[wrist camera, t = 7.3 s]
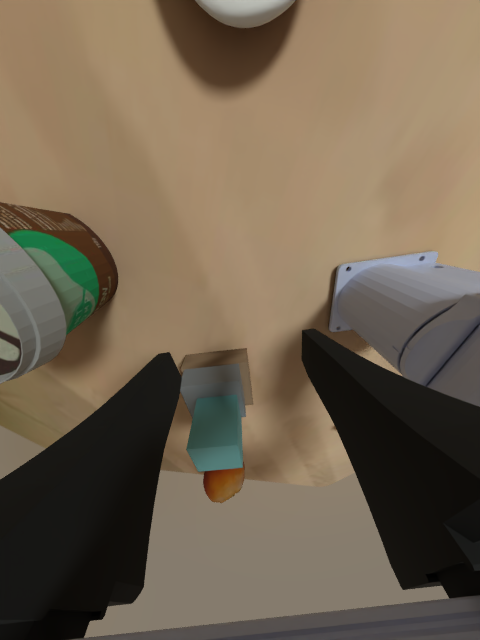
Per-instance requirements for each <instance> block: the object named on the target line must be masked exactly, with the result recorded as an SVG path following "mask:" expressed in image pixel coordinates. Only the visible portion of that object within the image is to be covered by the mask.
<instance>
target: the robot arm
mask: <svg viewBox="0 0 480 640" xmlns="http://www.w3.org/2000/svg"><path fill="white" fill-rule="evenodd" d="M420 257H421V259H420ZM437 257H438V253H437V252H435V251H429V252H422V253H415V254H408V255H401V256H395V257H388V258H381V259H374V260H367V261H360V262H353V263H346V264H341V265H339V266H338V268H337V271H336V278H335V285H334V293H333V300H332V307H331V315H330V322H329V330H330V331H331V332H339V331H347V330H354V331H355V332H356V333H357V334H358V335H359V336H361V337H362V338H363V339H364V340H365V341H366V342H367V343H368V344H369V345H370V346H371V347H373V348H374V349H375V350H376V351H377V352H378V353H379V354H380V355H381V356H382V357H383V358H384V359H386V360H387V361H388V362H389V363H390V364H391V365H392V366H393V367H394V368H395V369H396V370H397V371H399V372H400V373H401V374H402V376H400V375H398V374H395V373H393V372H391V371H389V370H387V369H385V368H382V367H380V366H378V365H376V364H374V363H373V362H371V361H369V360H367V359H365V358H363V357H361V356H359V355H357V354H356V353H354V352H352V351H350V350H349V349H347V348H345V347H343V346H342V345H340V344H338V343H337V342H335V341H334V340H332V339H330V338H329V337H327V336H325V335H324V334H322V333H321V332H319V331H317V330H315V329H308V330H302V362H303V364H304V367H305V369H306V372H307V374H308V377H309V378H310V380H311V382H312V384H313V386H314V388H315V390H316V391H317V393H318V395H319V397H320V399H321V400H322V402H323V404H324V406H325V408H326V409H327V411H328V413H329V415H330V417H331V419H332V421H333V423H334V425H335V427H336V429H337V431H338V433H339V436H340V438H341V440H342V443H343V445H344V447H345V449H346V452H347V454H348V457H349V459H350V461H351V464H352V466H353V468H354V471H355V473H356V475H357V478H358V481H359V483H360V486H361V488H362V491H363V493H364V495H365V498H366V501H367V503H368V506H369V508H370V511H371V513H372V516H373V519H374V521H375V524H376V527H377V529H378V532H379V534H380V537H381V540H382V542H383V545H384V548H385V551H386V553H387V556H388V559H389V562H390V564H391V567H392V569H393V571H394V573H395V575H396V577H397V579H398V582H399V583H400V586H401V587H402V589H403V590H406V589H415V588H423V587H432V586H443V588H444V590H445V591H446V593H447V595H448V596H449V598H450V599H441V600H431V601H422V602H413V603H404V604H395V605H385V606H376V607H367V608H357V609H348V610H340V611H331V612H321V613H311V614H302V615H293V616H283V617H274V618H266V619H256V620H247V621H238V622H228V623H219V624H209V625H200V626H191V627H182V628H173V629H163V630H154V631H146V632H135V633H126V634H117V635H108V636H99V637H89V638H84V636H85V633H86V630H87V627H88V625H89V622H90V621H93V620H102V619H103V617H104V616H105V613H106V610H107V607H108V606H114V605H123V604H131V603H133V602H134V601H135V600H136V598H137V597H138V595H139V594H140V593H141V591H142V589H143V587H144V579H145V570H146V561H147V553H148V544H149V536H150V529H151V522H152V515H153V508H154V502H155V495H156V490H157V484H158V478H159V473H160V468H161V463H162V458H163V452H164V448H165V444H166V440H167V437H168V434H169V430H170V427H171V423H172V420H173V416H174V413H175V410H176V406H177V402H178V399H179V394H180V389H181V381H182V377H181V375H180V373H179V371H178V369H177V367H176V365H175V363H174V360H173V358H172V356H171V354H170V352H167V353H161V354H158V355H157V356H156V357H154V358H153V359H152V360H151V361H150V362H149V363H148V364H147V365H146V366H145V367H144V368H143V369H142V370H141V371H140V372H139V373H137V374H136V375H135V376H134V377H133V378H132V379H131V380H130V381H129V382H128V383H127V384H126V385H125V386H124V387H123V388H122V389H120V390H119V391H118V392H117V393H116V394H115V395H114V396H113V397H111V398H110V399H109V400H108V401H107V402H106V403H105V404H104V405H102V406H101V407H100V408H99V409H98V410H96V411H95V412H94V413H93V414H92V415H90V416H89V417H88V418H87V419H85V420H84V421H83V422H82V423H80V424H79V425H78V426H76V427H75V428H74V429H73V430H71V431H70V432H68V433H67V434H66V435H64V436H63V437H62V438H60V439H59V440H57V441H56V442H55V443H53V444H52V445H51V446H49V447H48V448H46V449H45V450H44V451H42V452H41V453H39V454H38V455H37V456H35V457H34V458H32V459H31V460H29V461H28V462H26V463H25V464H24V465H22V466H20V467H19V468H17V469H16V470H14V471H13V472H11V473H10V474H8V475H7V476H5V477H4V478H2V479H1V480H0V640H480V272H477V271H472V270H468V269H463V268H458V267H453V266H449V265H444V264H439V263H435V262H436V259H437ZM419 259H420V260H419ZM347 267H349V269H348V270H347V271H346V268H347ZM337 327H338V328H337Z"/></svg>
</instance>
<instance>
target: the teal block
mask: <svg viewBox="0 0 480 640" xmlns="http://www.w3.org/2000/svg"><path fill="white" fill-rule="evenodd" d="M186 450H187V451H188V453H189V455H190V457H191V459H192V461H193V463H194V464H195V466H196V468H197V470H198V472H200V471H211V470H223V469H234V468H243V451H242V424H241V414H240V409H239V403H238V398H237V395H228V396H218V397H208V398H198V399H197V401H196V406H195V411H194V415H193V420H192V425H191V430H190V435H189V440H188V445H187V449H186Z"/></svg>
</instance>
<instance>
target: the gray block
mask: <svg viewBox="0 0 480 640" xmlns="http://www.w3.org/2000/svg"><path fill="white" fill-rule="evenodd" d="M180 391H181V394H182V396H183V398H184V400H185V403H186V405H187V407H188V410H189V412H190V414H191V416H192V419H193V415H194V411H195V406H196V401H197V399H198V398H208V397H218V396H228V395H237V398H238V403H239V409H240V414H241V417H246V412H245V397H244V391H243V386H242V380H241V374H240V368H239V364H230V365H221V366H212V367H203V368H194V369H185V370H184V372H183V375H182V381H181V389H180Z"/></svg>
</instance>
